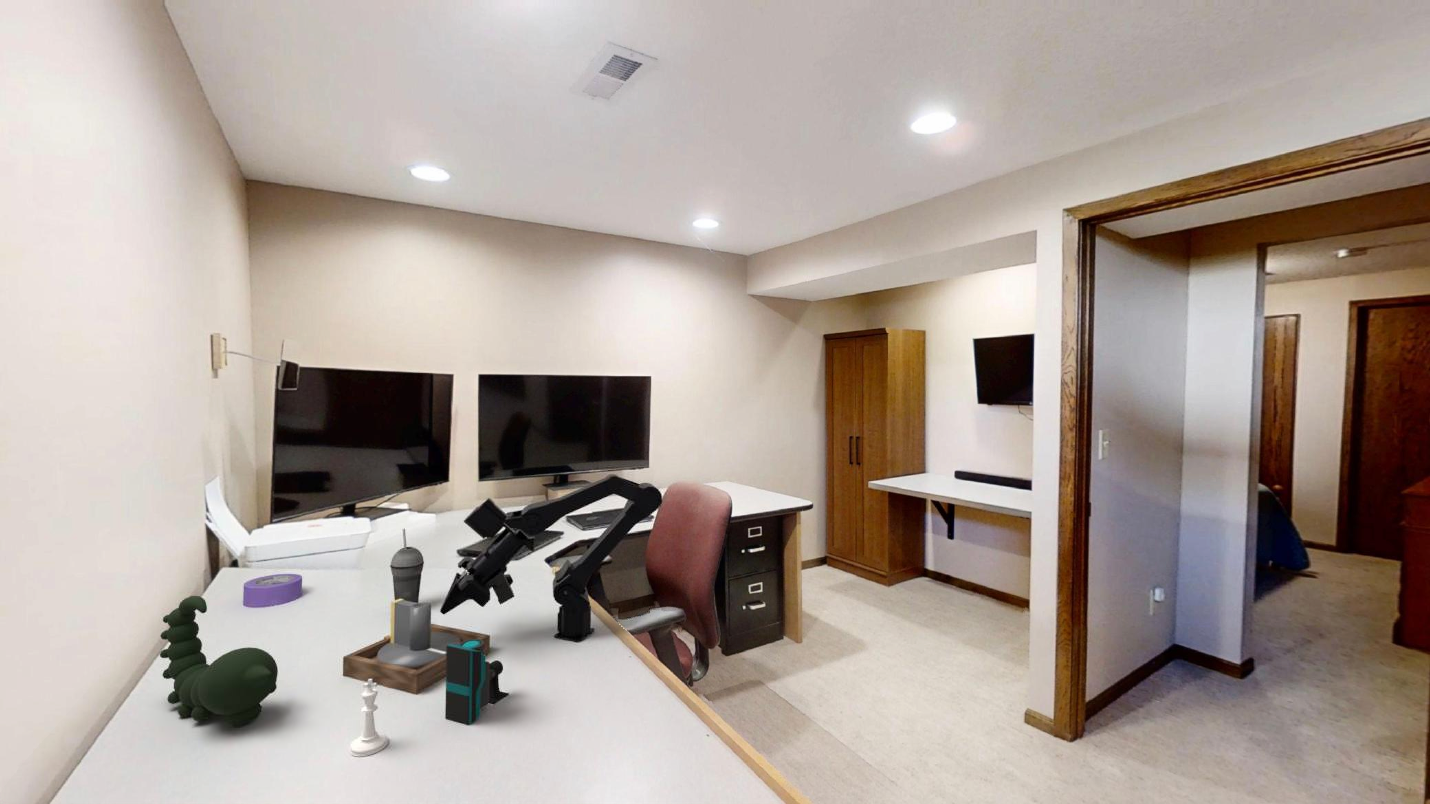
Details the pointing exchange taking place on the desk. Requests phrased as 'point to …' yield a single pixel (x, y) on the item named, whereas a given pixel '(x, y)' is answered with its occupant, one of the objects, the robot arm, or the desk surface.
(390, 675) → the dial base
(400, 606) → the knob
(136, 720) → the desk surface
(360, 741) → the chess piece
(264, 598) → the tape roll
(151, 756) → the desk surface
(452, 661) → the surveillance camera
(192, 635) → the toy figurine
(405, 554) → the beverage cup
